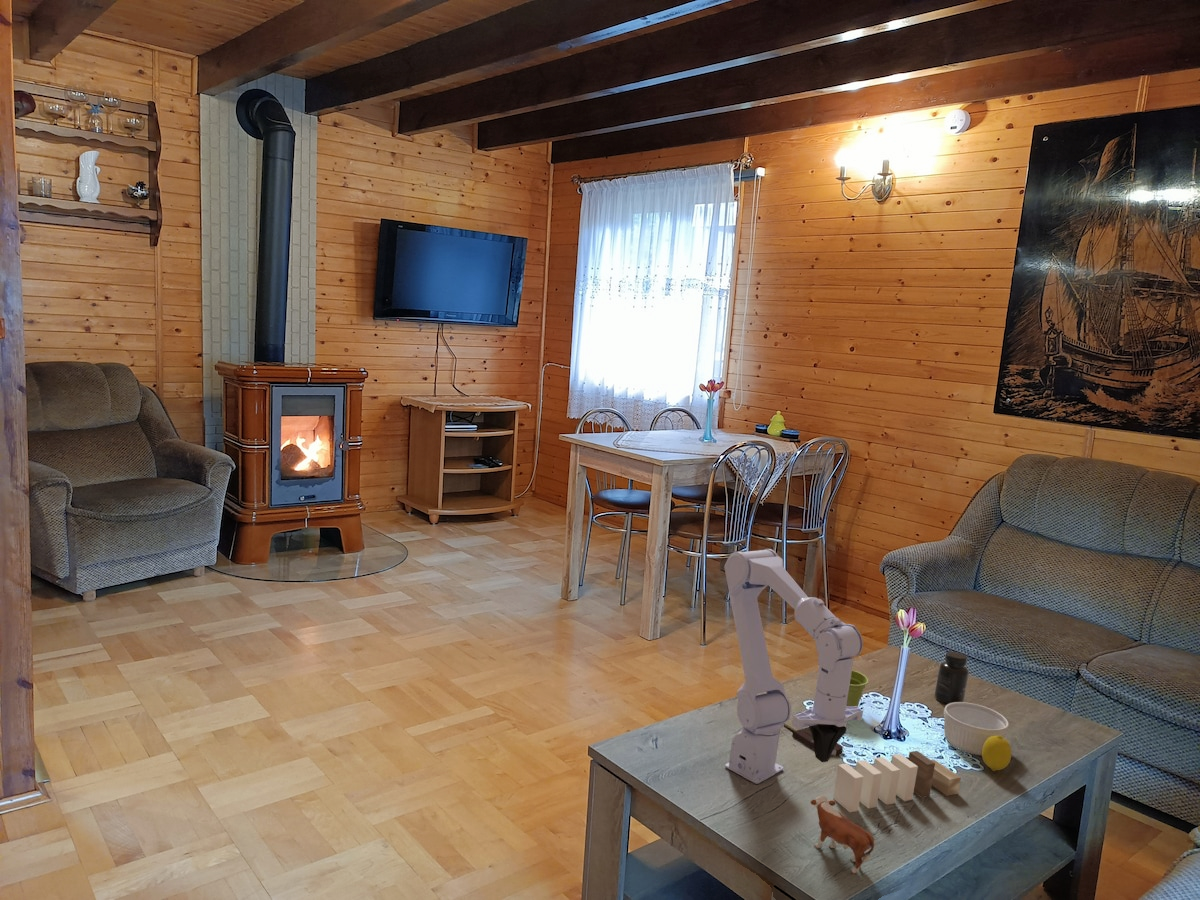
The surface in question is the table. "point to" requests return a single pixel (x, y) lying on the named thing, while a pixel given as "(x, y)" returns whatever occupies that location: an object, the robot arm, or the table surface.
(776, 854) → the table surface
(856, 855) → the bull figurine
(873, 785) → the domino
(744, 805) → the table surface
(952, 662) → the supplement bottle
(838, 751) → the ice cream bar
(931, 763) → the domino
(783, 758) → the table surface
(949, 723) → the ramekin
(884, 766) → the domino
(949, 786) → the end block
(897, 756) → the domino
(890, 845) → the table surface
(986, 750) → the lemon
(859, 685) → the plant pot
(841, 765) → the domino
